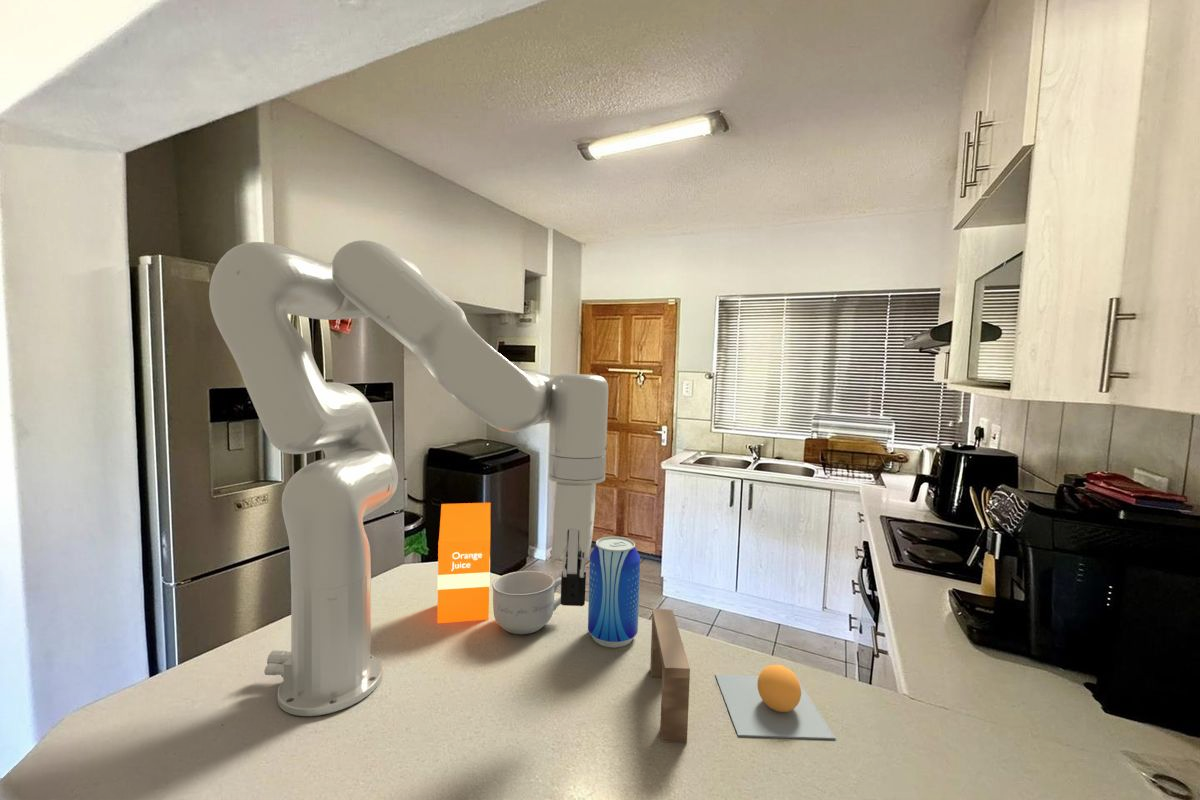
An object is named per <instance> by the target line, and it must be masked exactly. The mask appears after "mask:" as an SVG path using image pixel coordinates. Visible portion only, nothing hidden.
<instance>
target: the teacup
mask: <svg viewBox="0 0 1200 800" xmlns="http://www.w3.org/2000/svg"><path fill="white" fill-rule="evenodd" d="M559 585H561V577H559V576H558V578H556V579H554V577H553V576H552V575H550V574H549V573H546V572H543V571H537V570H520V571H513V572H509V573H506V574H503V575H500V576H499V577H497V578H495V579H494V581H493V582H492V584H491V586H492V606H493V617H494V620H495V622H496V623H497V625H499V626H500V627H501V628H502V629H504V630H505V631H507V632H508V633H511V634H515V635H528V634H533V633H535V632H538V631H539V630H542V628H543V627H544V626H545V625H546V624H548V622H549V621H550V620H551V618H552V616H553V614H554V612H555V611H556V610H557V608H558V607H559V606H560V605H561V596H559V597H558V598H557V599H555V593H556V591H557V588H558V587H559Z"/></svg>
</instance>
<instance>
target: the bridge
mask: <svg viewBox="0 0 1200 800" xmlns="http://www.w3.org/2000/svg"><path fill="white" fill-rule="evenodd" d="M651 614H652V615H651V636H650V637H651V638H650V640H651V641H650V674H651V675H650V676H651V678H661V695H660V696H661V697H660V698H661V701H660V703H661V704H660V725H659V728H660V729H659V730H660V735H661V737H662V738H661V742H662V741H667V742H666V743H672V742H671V741H674V742H673V743H688V730H689V729H688V726H689V704H690V699H689V698H690V682H691V678H690V676H691V668H690V664H689V660H688V657H687V654H686V651H685V647H684V643H683V640H682V635H681V634H680V631H679V627H678V623H677V620H676V617H675V614H674V610H673V609H668V608H667V609H663V608H653V609H652V611H651Z"/></svg>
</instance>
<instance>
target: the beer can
mask: <svg viewBox="0 0 1200 800" xmlns="http://www.w3.org/2000/svg"><path fill="white" fill-rule="evenodd" d="M588 574H589V575H588V576H589V577H588V578H589V581H588V609H587V611H588V612H587V614H588V615H587V631H588V633H589V634H590V635H591V637H592V639H593V640H594V642H595V643H597V644H598V645H599V646H602V647H606V648H623V647H626V646H628V645H629V644H630V643H631V642H632V641H633V639H634V638H635V637H637V634H638V632H639V631H638V630H639V609H640V607H639V606H640V603H639V602H640V579H641V556H640V554H639V552H638V550H637V548H636V543H635V541H634V540H632V539H630V538H627V537H624V536H604V537H601V538H598V539H597V540H596V542H595V546H594V547H593V549H592V551H590V554H589V573H588Z"/></svg>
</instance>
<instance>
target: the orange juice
mask: <svg viewBox="0 0 1200 800" xmlns="http://www.w3.org/2000/svg"><path fill="white" fill-rule="evenodd" d="M491 504H492V503H491V502H472V503H471V502H467V503H465V502H464V503H441V507H440V519H439V520H440V521H439V534H438V535H439V536H438V543H437V545H438V548H437V550H438V551H437V552H438V553H437V557H438V559H437V624H448V623H458V622H459V623H461V622H470V621H471V622H472V621H484V620H485V621H486V620H489V619H490V615H489V614H490V582H491V581H490V578H491V576H490V575H491Z"/></svg>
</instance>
